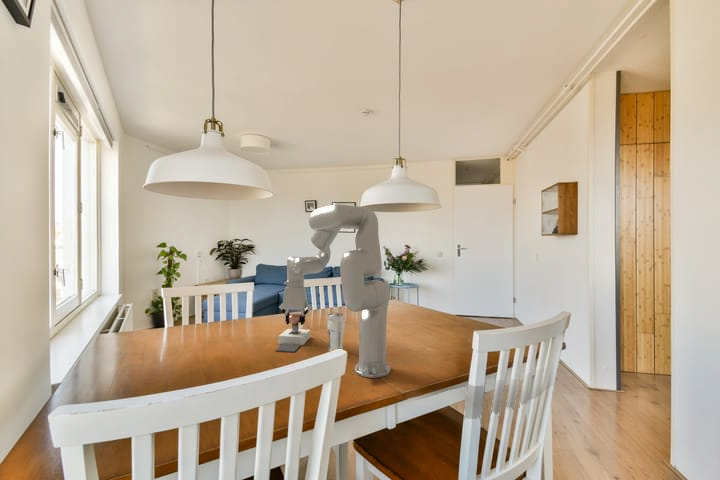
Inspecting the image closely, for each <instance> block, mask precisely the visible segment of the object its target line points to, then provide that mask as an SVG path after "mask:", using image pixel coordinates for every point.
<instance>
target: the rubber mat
mask: <svg viewBox="0 0 720 480" xmlns="http://www.w3.org/2000/svg"><path fill="white" fill-rule="evenodd" d="M301 346H302V345H300V344H280V345H279V346H278V347H277V348H276V349H275V352H277V353H279V352H280V353H291V354H292V353H296V352H297V351H298V349H299V348H301Z"/></svg>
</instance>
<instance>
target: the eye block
mask: <svg viewBox="0 0 720 480" xmlns="http://www.w3.org/2000/svg"><path fill="white" fill-rule="evenodd" d="M310 338H311V329H302V328H298V335H296V334H292V328H287V329H285V330H284V331H283V332H282V333H280V334H279V335H278V341H277V343H278V345H282V344H300V345H301V346H304V345H305V343H307V341H308V340H310Z"/></svg>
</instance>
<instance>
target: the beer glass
mask: <svg viewBox="0 0 720 480" xmlns="http://www.w3.org/2000/svg"><path fill="white" fill-rule="evenodd" d="M326 325H327V334H328V340H329V341H328V342H329V344H328V348H327V349H328V350H327V351H328V352H329V351H332V350H335V349H343V350H344V347H343V337H344V332H345V314H344V313H343V312H330V313H327V323H326Z"/></svg>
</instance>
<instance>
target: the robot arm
mask: <svg viewBox="0 0 720 480" xmlns="http://www.w3.org/2000/svg"><path fill="white" fill-rule="evenodd" d="M308 225H309V226H310V229H312V230H313V231H314V232H313V233H312V235H311V237H310V241H311V243H312V245H313V246H314V247H315V248H317V249H318V250H319V251H318V253H317V254H316V256H290V257H288V258H287V259H286V281H285V280H284V282H283V285H286V286H285V287H284V291H283V297H282V298H283V299H282V302H281V304H280V305H279V306H278V309H280V311H281V312H282V313H283V314H284V316H285V319H284V320H285V324H286V325H289V324H290V323H289V315H290V314H291V313H290V312H291V311H300V314H301V320H300V323H299V324H300V326H303V325H304V324H305V323H306V315H307V314H308V313H309V312H310V311H311V310H312V309H313V306H312V305H311V304H310V303H309V302H308V295H307V288H306V286H304V285H305V283H304V282H305V275H311V274H319V273H321V272H323V270H324V269H325V268H326V267H327V266H328V264H329V262H330V259H331V248H330V247H331V245H332V243H333V241H335V239H336V238H337V236H338V234H339V233H340V231H341V230H342V229H346V230H347V229H355V230H357V232H356V235H355V241H354V242H355V249H352V250H348V251H346V252H345V253H344V254H343V255H342V257H341V260H340V264H339V273H340V281H341V282H340V283H341V290H342V293H341V294H342V298H343V302H344V305H345V307H346V308H347V309H348V310H349V311H351V312H354V313H359V312H361V313H360V316H359V324H358V325H359V327H358V329H359V331H358V332H359V333H358V335H359V337H358V338H359V339H358V340H359V341H358V343H359V344H358V363H356V364H355V366H354V372H355V373H356V374H357V375H359V376H361V377H363V378H369V379H370V378H371V379H372V378H373V379H376V378H384V377H386V376H388V375H389V374H390V373H391V369H392V368H391V366H390V365H389V364H388V363H387V317H388V308H389V302H390V289H389V287H388V285H387V284H386V283H385V282H384V281H381V280H378V279H377V280H376V279H372V280H365V278H369V277H374V276H377V275H379V274H380V273H381V271H382V269H383V268H382V267H383V264H382V263H383V262H382V254H381V253H382V252H381V245H380V237H379V220H378V217H377V214H376V213H375V212H374V211H373V210H372V209H370V208H368V207H363V206H357V205H348V204H338V203H337V204H331V205H327V206H322V207H318V208H316V209H314V210H312V212H311V213H310V215H309V218H308ZM306 308H307V309H306ZM305 309H306V310H305Z"/></svg>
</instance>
